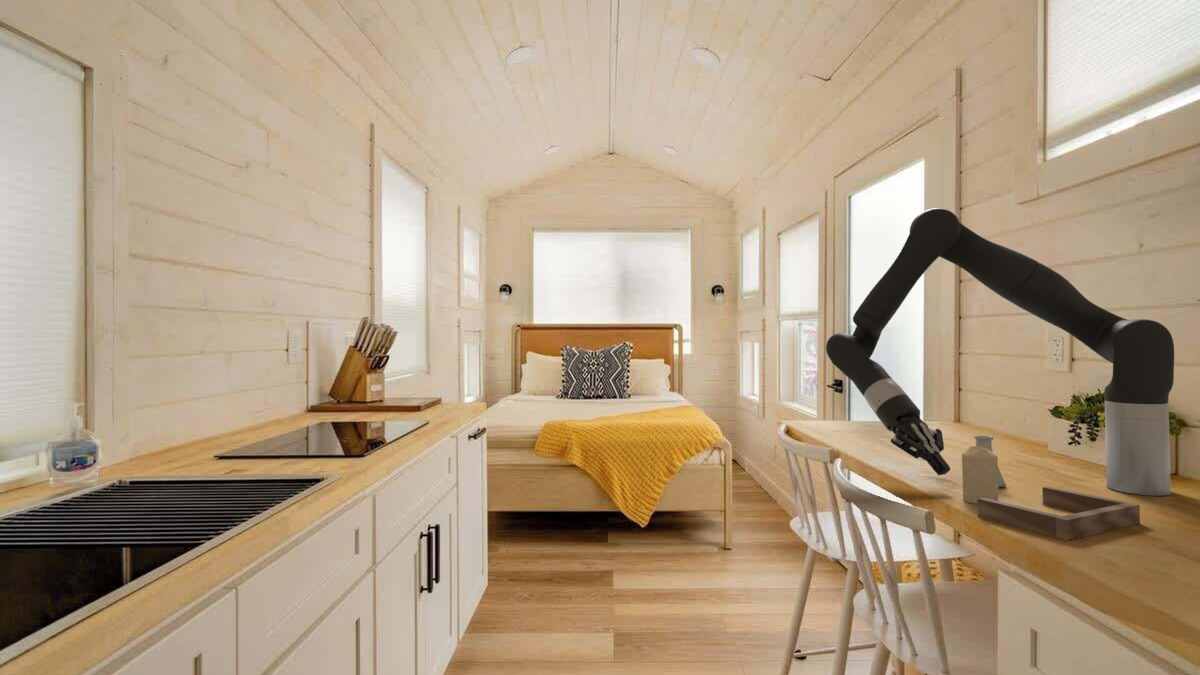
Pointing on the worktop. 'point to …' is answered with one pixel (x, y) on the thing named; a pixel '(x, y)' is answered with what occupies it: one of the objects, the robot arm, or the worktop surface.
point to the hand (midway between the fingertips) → (945, 472)
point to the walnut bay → (1090, 520)
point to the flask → (986, 443)
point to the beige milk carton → (979, 474)
